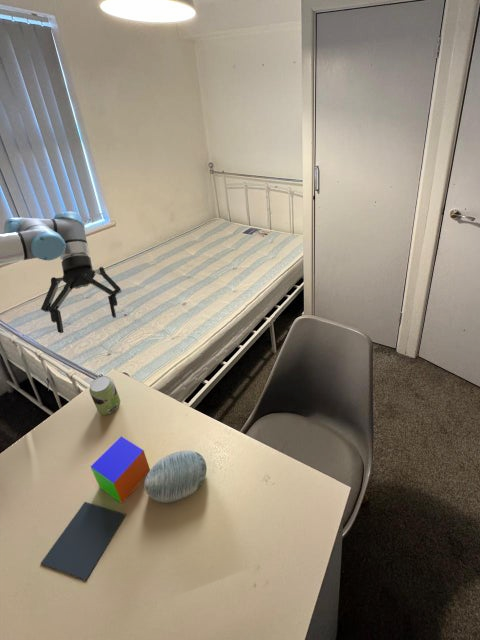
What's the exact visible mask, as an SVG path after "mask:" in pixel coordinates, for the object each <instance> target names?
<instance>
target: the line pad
mask: <svg viewBox="0 0 480 640" xmlns="http://www.w3.org/2000/svg"><path fill="white" fill-rule="evenodd" d="M126 516H127V514H125V513H122V512H120V511H116V510H114V509H110V508H107V507H103V506H99V505H97V504H93V503H90V502H88V501H84V502H83V504H82V505H81V506H80V508H79V509H78V510H77V512H76V513H75V515H74V516H73V518H72V519H71V520H70V522H69V523H68V524H67V525H66V527H65V529H64V530H63V531H62V533H61V534H60V535H59V537H58V538H57V540H56V541H55V542H54V543H53V545H52V546H51V548H50V549H49V551H48V552H47V554H46V555H45V556H44V557H43V559H42V561H41V562H40V565H42V566H45V567H48V568H51V569H54V570H56V571H58V572H62V573H65V574H66V575H69V576H72V577H74V578H78V579H81V580H83V581H87V580H88V579H89V577H90V576H91V574H92V572H93V570H94V569H95V567H96V565H97V564H98V562H99V560H100V559H101V557H102V556H103V554H104V552H105V551H106V549H107V547H108V545H109V544H110V542H111V541H112V539H113V538H114V536H115V534H116V532H117V531H118V529H119V528H120V526H121V525H122V523H123V521H124V519H125V518H126Z"/></svg>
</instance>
